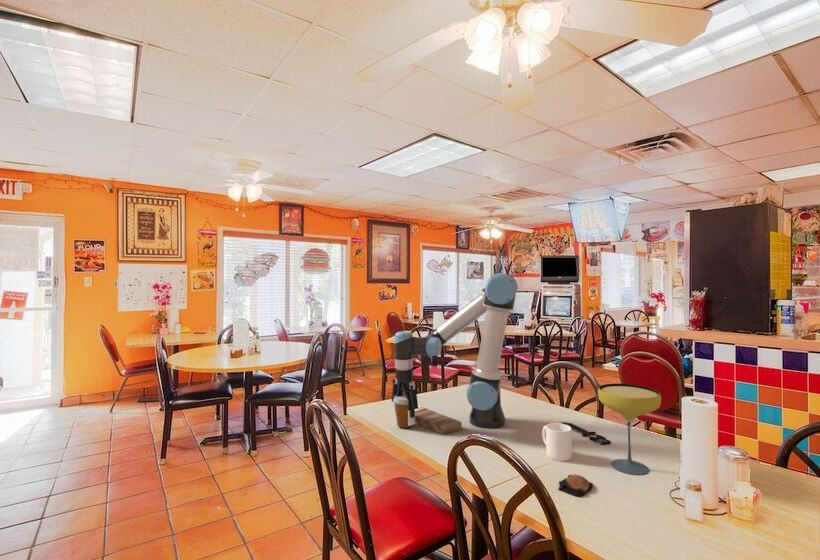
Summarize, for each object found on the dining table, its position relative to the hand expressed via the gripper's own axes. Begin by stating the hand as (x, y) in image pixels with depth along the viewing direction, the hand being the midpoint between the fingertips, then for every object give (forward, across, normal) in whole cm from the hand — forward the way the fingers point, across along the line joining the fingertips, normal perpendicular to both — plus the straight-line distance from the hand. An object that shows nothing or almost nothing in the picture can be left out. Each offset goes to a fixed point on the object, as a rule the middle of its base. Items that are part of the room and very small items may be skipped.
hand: (404, 421), depth 174 cm
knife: (+2, -52, -50) cm, 72 cm away
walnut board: (+2, -2, -11) cm, 11 cm away
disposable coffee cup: (+1, 0, 0) cm, 1 cm away
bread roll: (+2, -73, -8) cm, 73 cm away
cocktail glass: (+2, -77, -33) cm, 84 cm away
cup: (+2, -56, -24) cm, 61 cm away
